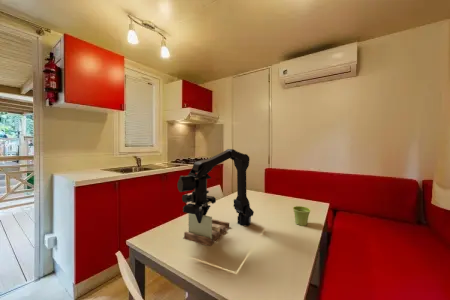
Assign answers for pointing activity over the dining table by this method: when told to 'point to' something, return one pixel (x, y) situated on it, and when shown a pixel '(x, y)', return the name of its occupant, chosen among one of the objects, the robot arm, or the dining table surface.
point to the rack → (205, 240)
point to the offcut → (216, 228)
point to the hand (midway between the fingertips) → (200, 222)
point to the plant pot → (301, 215)
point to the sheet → (200, 225)
